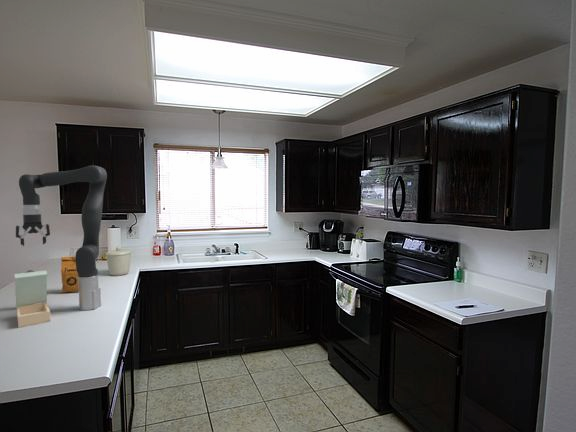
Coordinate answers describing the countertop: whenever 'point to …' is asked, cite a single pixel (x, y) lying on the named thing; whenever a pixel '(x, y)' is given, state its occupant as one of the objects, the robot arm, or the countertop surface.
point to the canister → (118, 261)
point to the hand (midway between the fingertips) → (33, 244)
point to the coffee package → (69, 275)
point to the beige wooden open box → (33, 314)
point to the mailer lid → (31, 287)
